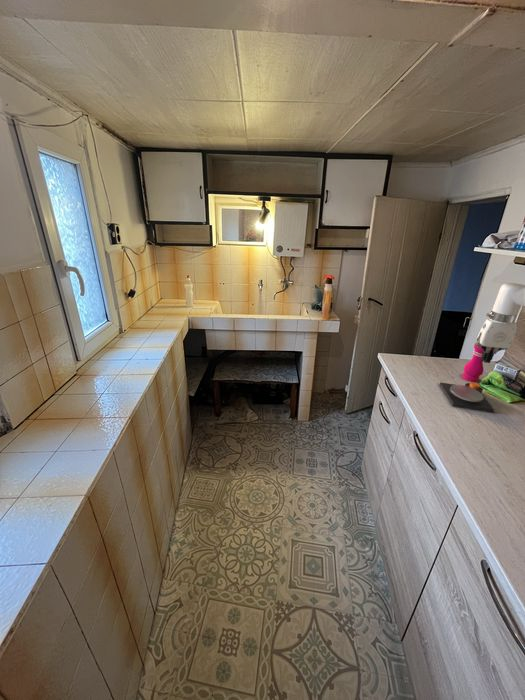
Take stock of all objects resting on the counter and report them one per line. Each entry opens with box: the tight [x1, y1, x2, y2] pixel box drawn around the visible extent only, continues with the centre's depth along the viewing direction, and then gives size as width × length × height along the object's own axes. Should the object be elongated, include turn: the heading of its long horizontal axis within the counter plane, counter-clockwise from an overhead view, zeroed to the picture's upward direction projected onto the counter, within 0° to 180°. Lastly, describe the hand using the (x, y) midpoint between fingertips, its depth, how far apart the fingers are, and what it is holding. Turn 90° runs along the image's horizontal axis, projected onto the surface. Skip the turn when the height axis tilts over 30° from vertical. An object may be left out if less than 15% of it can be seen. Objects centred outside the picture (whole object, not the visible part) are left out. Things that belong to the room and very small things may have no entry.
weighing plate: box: [450, 384, 485, 402], centre depth 111 cm, size 11×11×1 cm
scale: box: [438, 382, 495, 414], centre depth 113 cm, size 15×16×3 cm
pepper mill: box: [461, 342, 491, 383], centre depth 125 cm, size 7×7×20 cm
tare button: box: [469, 381, 481, 390], centre depth 116 cm, size 3×3×2 cm
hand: (485, 361), depth 112 cm, fingers closed
